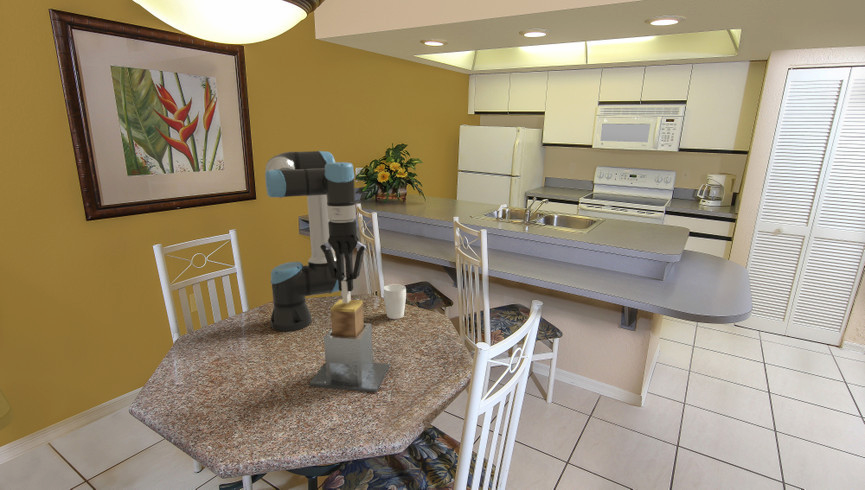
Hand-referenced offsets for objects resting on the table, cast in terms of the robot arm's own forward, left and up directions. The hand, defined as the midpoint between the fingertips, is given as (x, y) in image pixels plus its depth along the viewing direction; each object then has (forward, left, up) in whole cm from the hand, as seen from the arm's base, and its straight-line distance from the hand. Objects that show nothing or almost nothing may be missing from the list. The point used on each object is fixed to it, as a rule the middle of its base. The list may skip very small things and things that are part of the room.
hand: (346, 301), depth 122 cm
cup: (+2, +46, -24) cm, 52 cm away
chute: (0, 0, -24) cm, 24 cm away
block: (0, 0, -15) cm, 15 cm away
